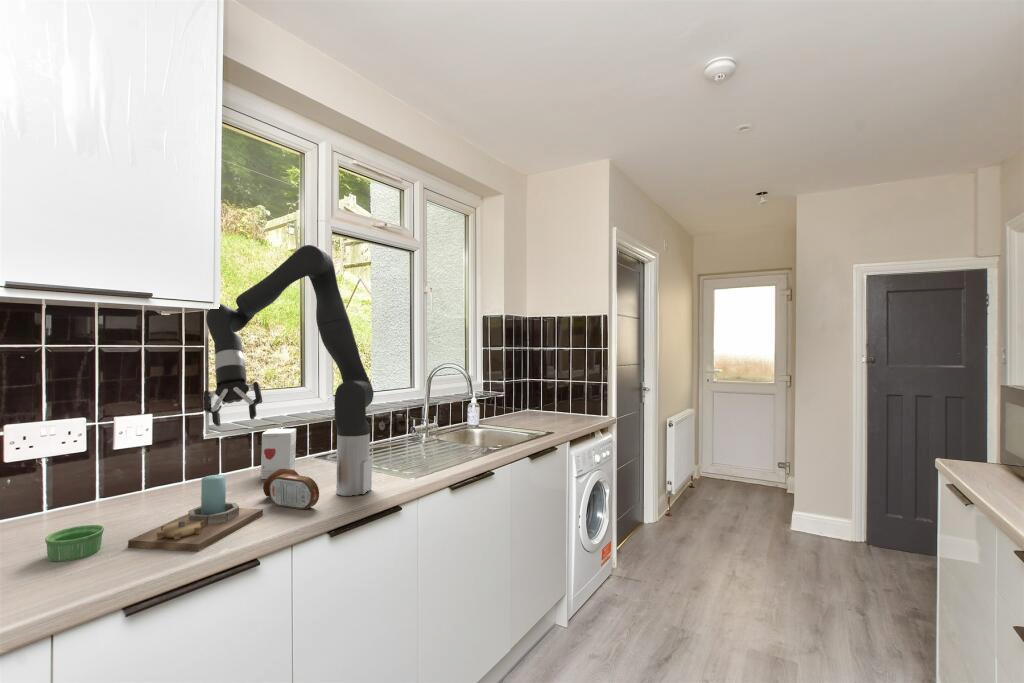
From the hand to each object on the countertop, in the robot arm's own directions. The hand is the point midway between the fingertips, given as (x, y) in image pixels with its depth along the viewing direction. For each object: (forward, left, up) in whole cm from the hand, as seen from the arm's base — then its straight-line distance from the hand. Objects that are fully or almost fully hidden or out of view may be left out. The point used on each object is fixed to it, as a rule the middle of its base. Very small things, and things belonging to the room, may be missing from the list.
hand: (235, 422), depth 134 cm
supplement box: (+3, -26, -22) cm, 34 cm away
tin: (-19, +3, -22) cm, 29 cm away
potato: (-11, -6, -22) cm, 25 cm away
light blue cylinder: (-7, +17, -20) cm, 27 cm away
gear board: (-7, +21, -22) cm, 31 cm away
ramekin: (+9, +36, -22) cm, 43 cm away
